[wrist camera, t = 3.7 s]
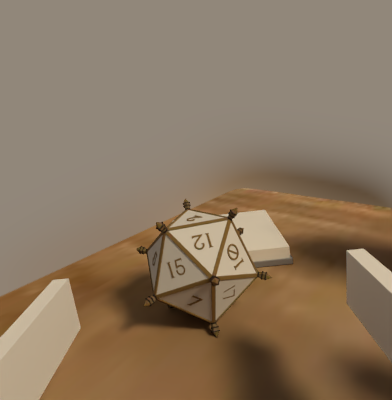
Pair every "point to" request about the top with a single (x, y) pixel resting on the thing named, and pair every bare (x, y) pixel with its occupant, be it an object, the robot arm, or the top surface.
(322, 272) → the top surface
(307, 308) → the top surface
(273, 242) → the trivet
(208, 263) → the game die
